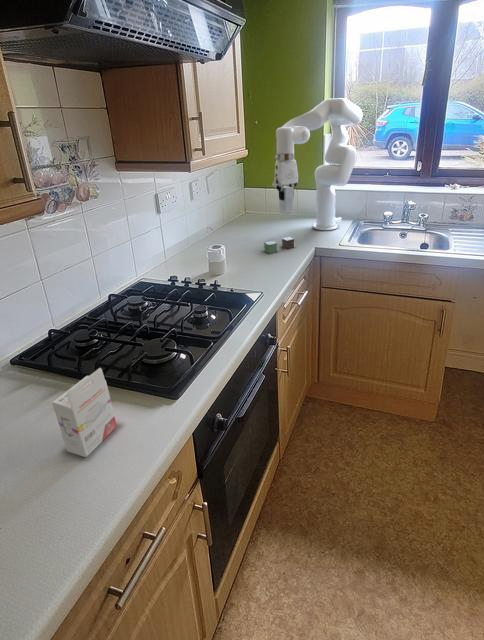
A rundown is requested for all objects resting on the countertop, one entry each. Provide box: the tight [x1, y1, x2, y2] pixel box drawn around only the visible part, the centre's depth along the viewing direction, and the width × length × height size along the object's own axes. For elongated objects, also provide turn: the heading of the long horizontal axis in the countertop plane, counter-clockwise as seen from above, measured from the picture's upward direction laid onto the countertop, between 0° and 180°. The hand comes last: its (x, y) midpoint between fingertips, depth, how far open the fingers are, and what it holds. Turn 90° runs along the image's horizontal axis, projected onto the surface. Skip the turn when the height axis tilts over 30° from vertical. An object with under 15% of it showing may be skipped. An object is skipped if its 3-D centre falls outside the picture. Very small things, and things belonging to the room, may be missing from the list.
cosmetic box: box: [278, 185, 295, 216], centre depth 184 cm, size 6×4×12 cm
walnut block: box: [281, 236, 295, 250], centre depth 183 cm, size 4×4×4 cm
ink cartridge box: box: [52, 367, 118, 458], centre depth 77 cm, size 9×5×15 cm, turn 158°
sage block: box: [263, 240, 278, 255], centre depth 178 cm, size 4×4×4 cm
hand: (286, 198), depth 183 cm, fingers closed on cosmetic box, 4 cm apart
